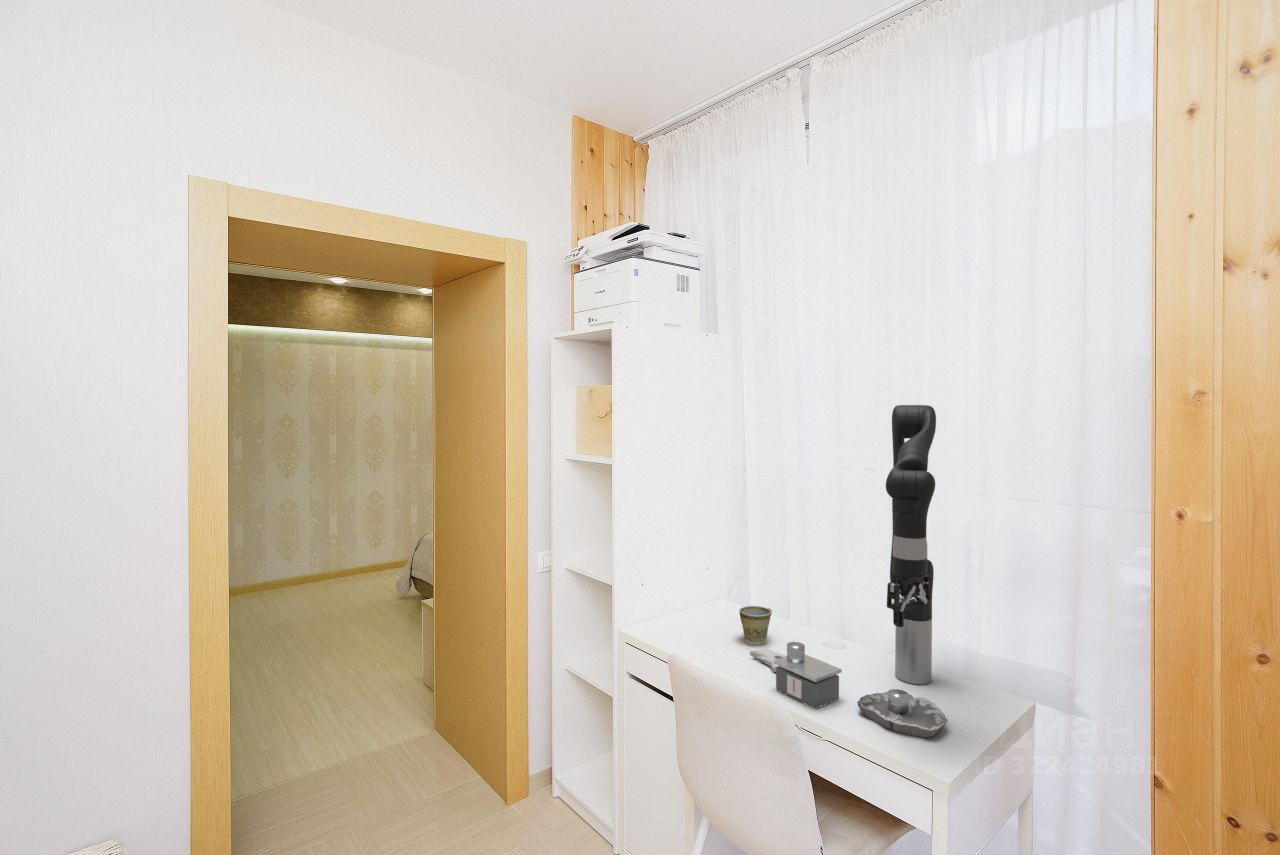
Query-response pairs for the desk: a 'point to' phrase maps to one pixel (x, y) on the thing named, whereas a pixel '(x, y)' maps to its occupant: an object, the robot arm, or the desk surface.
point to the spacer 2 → (898, 701)
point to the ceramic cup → (755, 623)
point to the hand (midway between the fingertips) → (909, 622)
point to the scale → (807, 687)
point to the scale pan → (809, 668)
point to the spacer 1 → (795, 652)
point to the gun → (767, 656)
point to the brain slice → (917, 722)
